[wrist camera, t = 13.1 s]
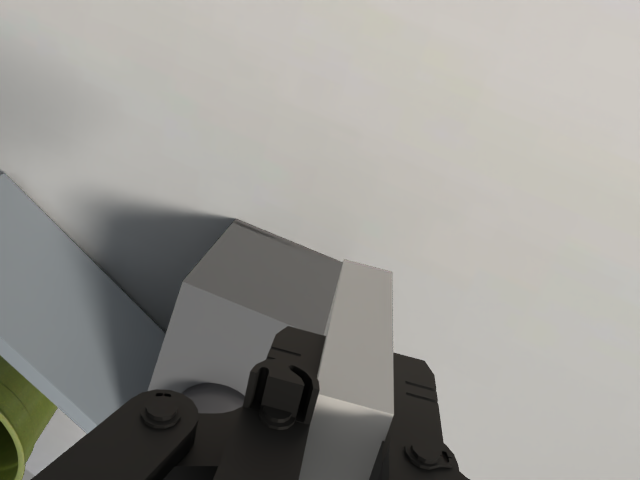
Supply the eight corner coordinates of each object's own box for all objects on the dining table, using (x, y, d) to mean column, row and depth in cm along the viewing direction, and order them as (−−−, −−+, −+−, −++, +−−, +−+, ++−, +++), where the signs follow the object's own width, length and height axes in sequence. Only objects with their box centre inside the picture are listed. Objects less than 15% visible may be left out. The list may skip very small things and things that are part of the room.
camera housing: (348, 265, 43) (332, 358, 30) (290, 392, 48) (256, 517, 36) (235, 218, 43) (172, 293, 30) (189, 351, 48) (119, 462, 35)
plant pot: (108, 333, 48) (32, 414, 38) (88, 428, 53) (15, 523, 42) (-12, 289, 48) (-123, 358, 38) (-23, 388, 53) (-124, 474, 42)
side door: (5, 172, 43) (-128, 218, 32) (188, 354, 48) (127, 451, 36) (-8, 186, 44) (-142, 236, 33) (174, 365, 48) (110, 463, 37)
